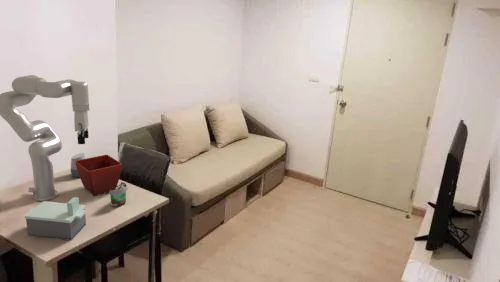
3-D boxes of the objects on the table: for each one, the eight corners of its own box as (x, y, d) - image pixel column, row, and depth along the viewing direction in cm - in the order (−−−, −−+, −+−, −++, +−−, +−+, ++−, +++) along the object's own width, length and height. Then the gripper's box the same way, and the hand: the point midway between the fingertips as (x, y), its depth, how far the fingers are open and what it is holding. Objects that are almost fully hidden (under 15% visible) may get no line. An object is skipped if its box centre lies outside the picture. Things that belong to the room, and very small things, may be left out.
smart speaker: (73, 172, 246) (72, 151, 242) (89, 172, 247) (88, 151, 243) (68, 178, 237) (67, 156, 233) (84, 178, 238) (83, 157, 234)
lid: (25, 220, 174) (23, 203, 172) (43, 205, 188) (42, 189, 185) (75, 225, 173) (74, 208, 171) (90, 210, 187) (89, 194, 184)
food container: (120, 209, 205) (120, 192, 202) (109, 207, 206) (109, 190, 203) (132, 199, 217) (131, 183, 214) (121, 198, 218) (121, 181, 215)
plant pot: (76, 187, 226) (74, 160, 221) (108, 180, 239) (107, 154, 234) (90, 200, 213) (88, 171, 208) (123, 191, 226) (122, 164, 221)
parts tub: (27, 235, 177) (25, 218, 174) (45, 220, 190) (43, 203, 187) (71, 240, 176) (70, 222, 173) (86, 224, 189) (84, 207, 186)
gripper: (76, 103, 199) (78, 135, 204) (68, 111, 183) (71, 146, 188) (92, 103, 200) (94, 135, 206) (86, 111, 184) (88, 146, 190)
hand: (83, 140), depth 197 cm, fingers open, 9 cm apart
